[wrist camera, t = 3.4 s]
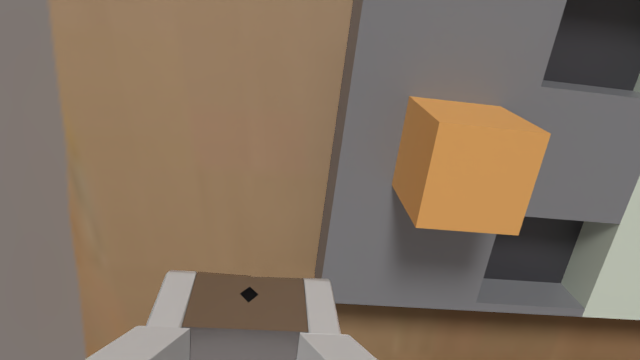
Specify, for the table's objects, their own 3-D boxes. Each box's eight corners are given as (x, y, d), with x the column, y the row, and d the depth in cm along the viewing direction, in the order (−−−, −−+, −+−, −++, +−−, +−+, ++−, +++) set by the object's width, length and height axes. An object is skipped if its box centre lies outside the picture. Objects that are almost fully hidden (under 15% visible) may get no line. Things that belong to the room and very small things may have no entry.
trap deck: (833, -10, 21) (964, -9, 17) (680, 296, 28) (751, 350, 24) (365, -83, 19) (388, -102, 15) (314, 273, 25) (321, 329, 21)
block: (500, 106, 20) (551, 133, 16) (477, 192, 21) (518, 235, 18) (409, 96, 19) (439, 121, 16) (391, 184, 21) (415, 227, 17)
